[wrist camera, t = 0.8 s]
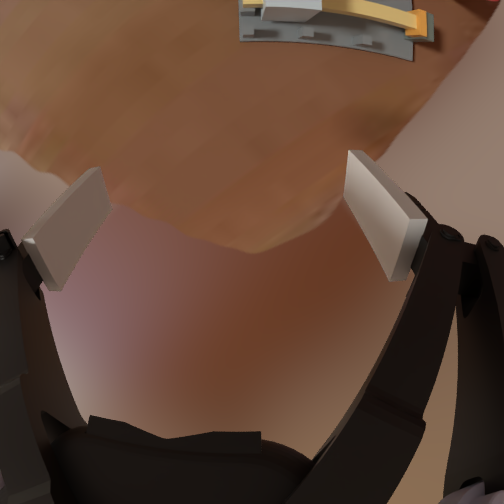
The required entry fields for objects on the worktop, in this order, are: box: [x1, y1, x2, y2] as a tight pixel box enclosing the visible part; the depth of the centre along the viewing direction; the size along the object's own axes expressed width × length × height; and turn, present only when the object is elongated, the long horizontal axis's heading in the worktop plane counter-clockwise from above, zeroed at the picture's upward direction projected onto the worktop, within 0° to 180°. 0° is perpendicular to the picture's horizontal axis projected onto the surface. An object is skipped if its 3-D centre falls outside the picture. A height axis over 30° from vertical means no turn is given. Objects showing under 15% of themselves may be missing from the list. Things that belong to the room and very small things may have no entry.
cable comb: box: [239, 0, 434, 61], centre depth 21 cm, size 12×23×7 cm, turn 91°
